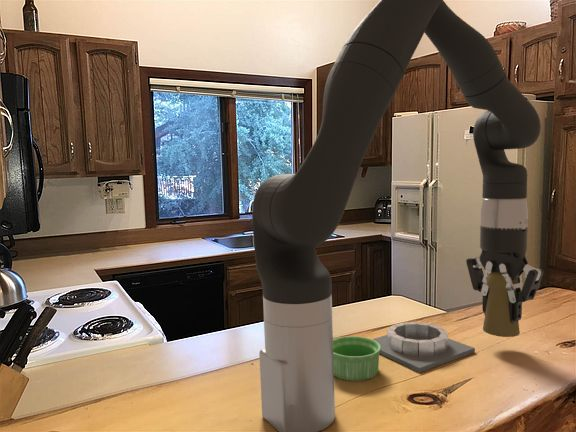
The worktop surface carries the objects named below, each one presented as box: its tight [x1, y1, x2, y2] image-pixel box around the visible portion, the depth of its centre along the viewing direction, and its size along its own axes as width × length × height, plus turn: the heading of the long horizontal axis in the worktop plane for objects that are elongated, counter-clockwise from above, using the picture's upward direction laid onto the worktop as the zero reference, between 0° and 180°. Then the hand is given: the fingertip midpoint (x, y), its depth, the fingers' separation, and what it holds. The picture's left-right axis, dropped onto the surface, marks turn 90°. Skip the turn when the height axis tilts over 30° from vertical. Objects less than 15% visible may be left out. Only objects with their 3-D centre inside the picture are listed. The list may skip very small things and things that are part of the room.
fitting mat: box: [371, 334, 476, 374], centre depth 85 cm, size 14×14×1 cm
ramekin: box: [333, 335, 381, 382], centre depth 77 cm, size 9×9×4 cm
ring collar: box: [386, 321, 449, 357], centre depth 85 cm, size 10×10×2 cm
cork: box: [482, 271, 521, 338], centre depth 83 cm, size 6×6×11 cm
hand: (501, 318), depth 83 cm, fingers closed on cork, 4 cm apart
